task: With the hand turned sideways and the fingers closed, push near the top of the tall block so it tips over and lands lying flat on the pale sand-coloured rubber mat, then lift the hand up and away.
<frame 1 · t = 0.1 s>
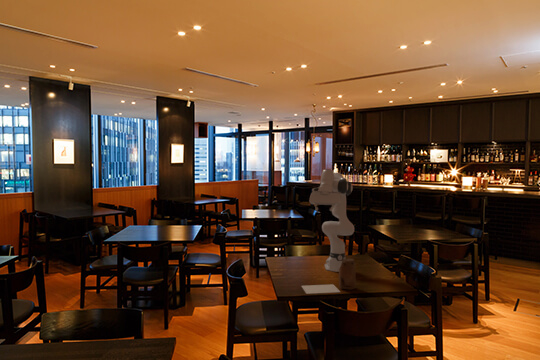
hand: (323, 210, 226), 54 cm above the table, tool tilted 30°, fingers open, 8 cm apart
mat: (320, 289, 234), on the table
block: (346, 288, 236), on the table
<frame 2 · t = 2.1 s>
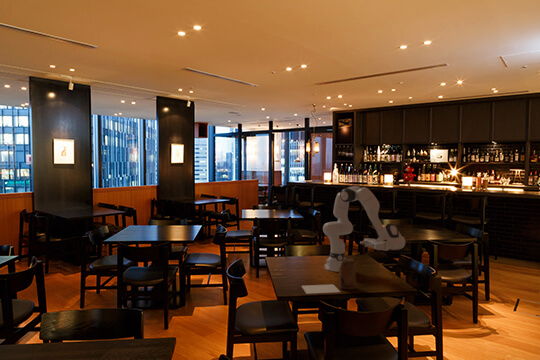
hand: (362, 244, 237), 30 cm above the table, tool horizontal, fingers open, 7 cm apart
nothing on the table moved.
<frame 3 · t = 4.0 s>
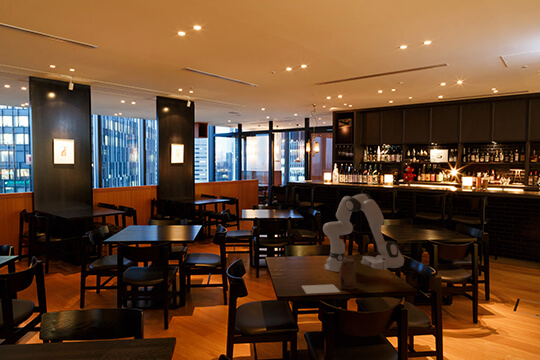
hand: (361, 262, 237), 17 cm above the table, tool horizontal, fingers closed
nothing on the table moved.
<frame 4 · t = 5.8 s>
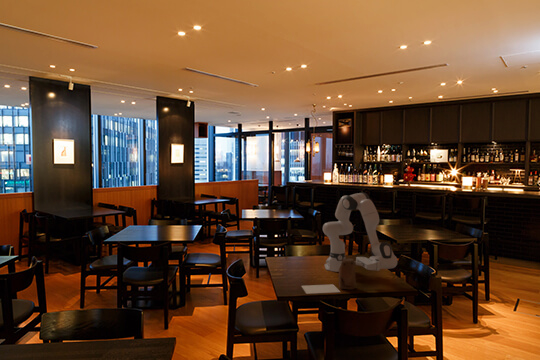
hand: (354, 263, 237), 17 cm above the table, tool horizontal, fingers closed
block: (346, 288, 236), on the table, touching gripper
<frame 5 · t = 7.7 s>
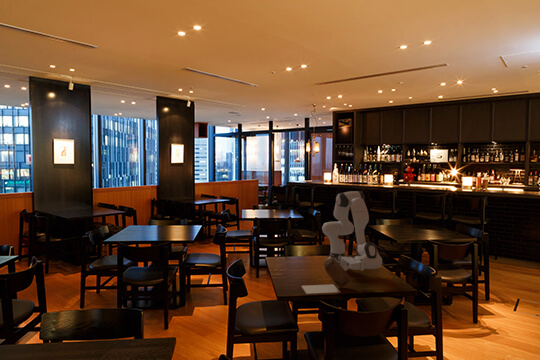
hand: (339, 262, 235), 18 cm above the table, tool horizontal, fingers closed
block: (345, 283, 236), point 3 cm above the table, touching gripper
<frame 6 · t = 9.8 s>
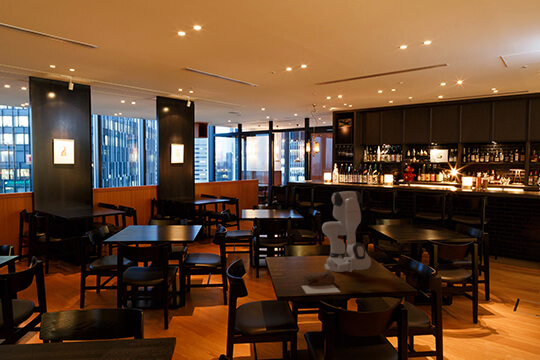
hand: (327, 264, 234), 17 cm above the table, tool horizontal, fingers closed
block: (332, 277, 247), point 4 cm above the table, touching mat
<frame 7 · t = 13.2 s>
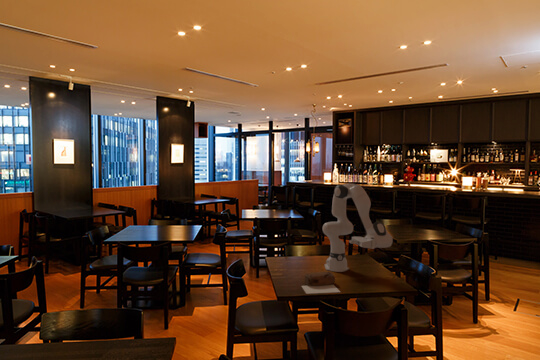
hand: (349, 241, 236), 32 cm above the table, tool horizontal, fingers closed
nothing on the table moved.
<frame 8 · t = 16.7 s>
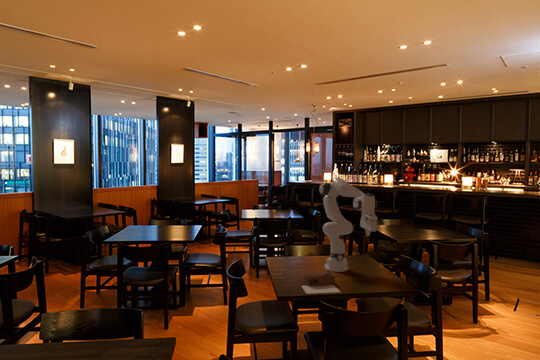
hand: (367, 235, 246), 34 cm above the table, tool pointing down, fingers closed
nothing on the table moved.
at the end: block tilted 90°; block touching mat, table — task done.
